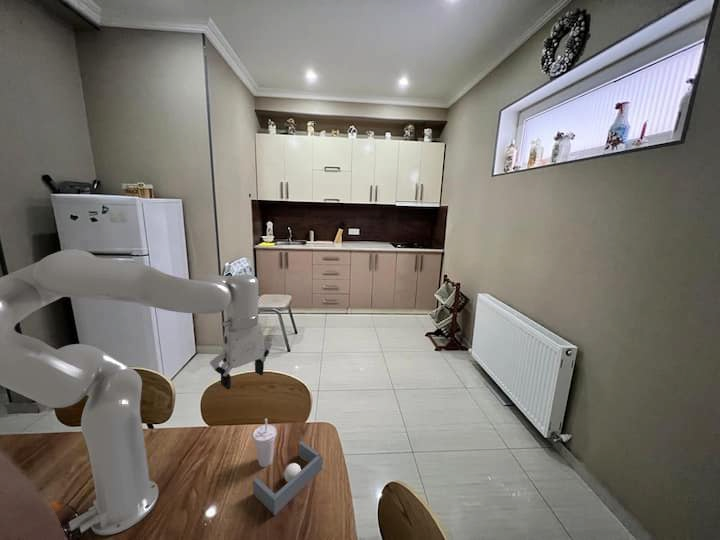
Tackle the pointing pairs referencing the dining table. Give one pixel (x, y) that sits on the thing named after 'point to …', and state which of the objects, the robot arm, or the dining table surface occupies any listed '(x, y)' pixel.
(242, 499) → the dining table surface
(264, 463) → the smoothie
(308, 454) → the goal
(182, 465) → the dining table surface
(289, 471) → the ball
